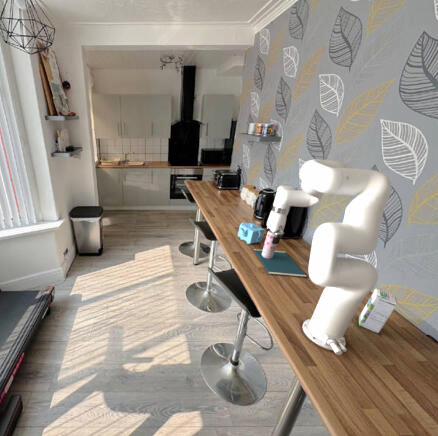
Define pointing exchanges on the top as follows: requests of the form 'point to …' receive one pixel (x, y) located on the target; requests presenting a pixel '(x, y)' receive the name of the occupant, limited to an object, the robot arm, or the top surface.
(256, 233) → the light blue box
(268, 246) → the beverage can
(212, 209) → the top surface
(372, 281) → the robot arm
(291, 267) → the teal book
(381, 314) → the syrup box
